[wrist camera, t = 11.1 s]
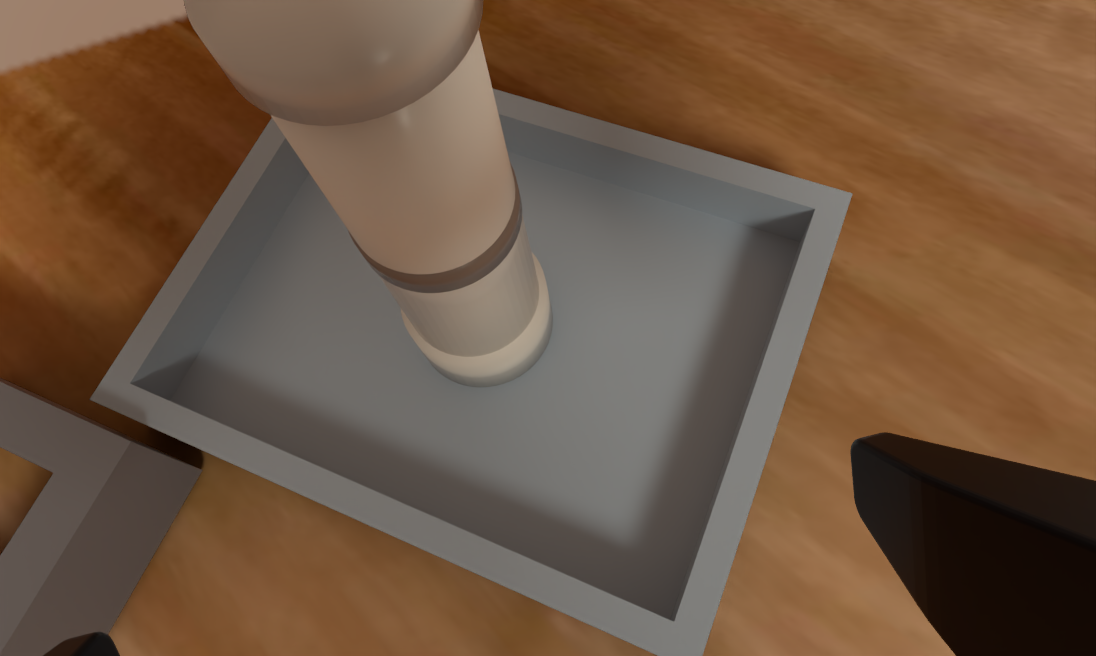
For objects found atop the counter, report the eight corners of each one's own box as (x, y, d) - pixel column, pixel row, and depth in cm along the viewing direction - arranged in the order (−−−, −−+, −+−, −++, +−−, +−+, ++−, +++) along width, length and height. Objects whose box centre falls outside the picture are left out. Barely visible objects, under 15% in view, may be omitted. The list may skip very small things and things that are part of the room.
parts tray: (828, 237, 23) (852, 193, 21) (687, 668, 19) (696, 673, 17) (348, 90, 27) (322, 38, 25) (143, 423, 23) (89, 399, 20)
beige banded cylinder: (581, 326, 22) (530, -45, 10) (473, 415, 21) (282, 131, 9) (495, 237, 23) (361, -183, 11) (392, 318, 23) (132, -39, 11)
